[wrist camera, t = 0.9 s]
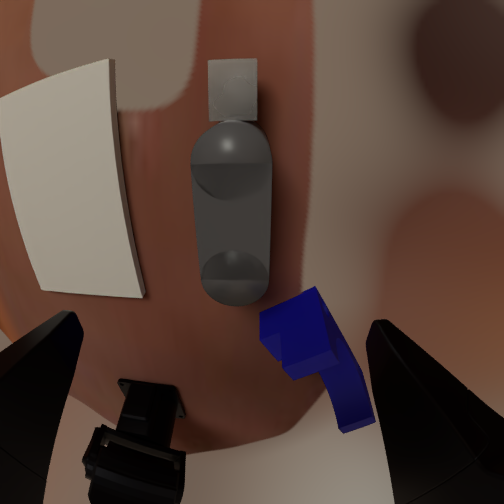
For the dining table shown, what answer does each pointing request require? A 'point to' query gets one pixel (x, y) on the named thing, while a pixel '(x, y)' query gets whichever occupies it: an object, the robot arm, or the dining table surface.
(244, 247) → the connector
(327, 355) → the cable clip
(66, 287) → the mat
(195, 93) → the dining table surface
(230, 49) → the dining table surface
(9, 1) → the dining table surface
